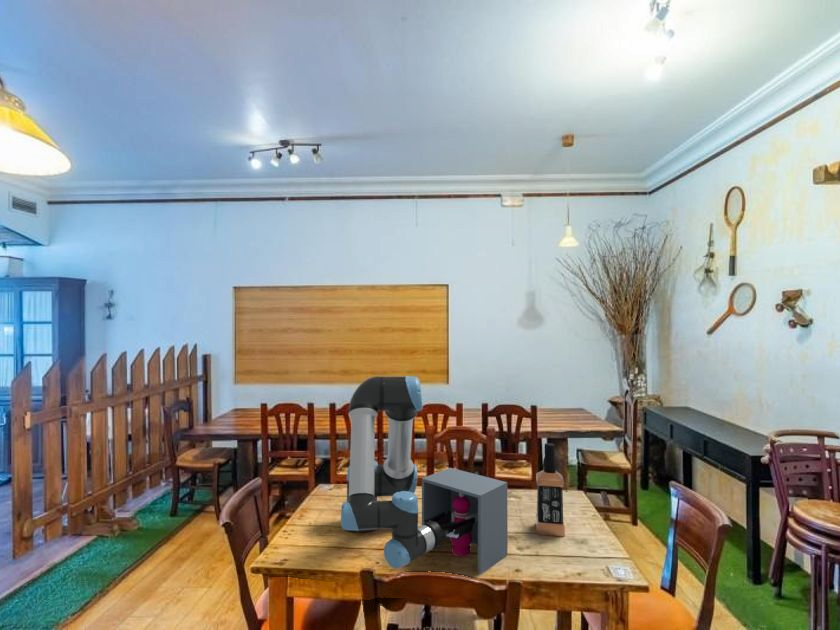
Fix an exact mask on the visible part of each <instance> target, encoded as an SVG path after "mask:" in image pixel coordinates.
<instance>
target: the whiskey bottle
mask: <svg viewBox="0 0 840 630" xmlns="http://www.w3.org/2000/svg"><path fill="white" fill-rule="evenodd" d="M555 449H556V447H555V444H554V443H552V442H546V443H545V444H544V458H543V461H542V465H543V469H542V470H541V471H538V472H536V474H535V476H536V477H535V478H536V485H537V492H536V493H537V497H536V498H537V499H536V513H535V529H536V534H538V535H543V536H556V537H565V536H566V534H565V533H566V531H565V522H564V502H563V499H564V497H563V496H564V495H563V487H564V486H565V481H564V477H563V475H562V473H560V472H558V471H557V470H556V468H557V462H556V457H555V454H556V451H555Z"/></svg>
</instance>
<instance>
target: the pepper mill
mask: <svg viewBox="0 0 840 630" xmlns="http://www.w3.org/2000/svg"><path fill="white" fill-rule="evenodd" d="M470 505H471V504H470V500H469V499H468V498H467V497H466V496H464V494H463V493H459V496H457V497H455V498H454V500H453V508H454V509H455V510H454V516H455V523H456V522H459V521H463V520H465V518H466V517H468V516H469V511H468V510H469V509H470ZM450 542H451V544H452V545H451V552H452V554H454V556H457V557H467V556H469V555H471V552H472V551H471V549H472V547H471V544H472V535H471V532H468V533H467V534H465V535H463V536H461V537H460V538H459V539H458V540H454V537H450Z"/></svg>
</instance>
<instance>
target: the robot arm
mask: <svg viewBox="0 0 840 630" xmlns="http://www.w3.org/2000/svg"><path fill="white" fill-rule="evenodd" d="M420 381H421V380H420V379H419V377H417V376H409V375H405V376H377V375H376V376H372V377H369V378H367V379H366V380H365V379H364V381H363V382H362V383H360V384H359V386H358V387H357V388H356V389H355V391H354V392H353V394H352V396H351V399H350V402H349V403H348V404H349V406H348V417H349V419H350V420H351V421H350V422H351V424H350V425H351V426H350V450H349V451H350V455H349V466H348V468H347V469H346V472H347V473H346V501H345V502H342V503H341V511H340V526H341V528H342V530H344V531H347V532H351V533H356V534H357V533H359V534H360V533H362V534H363V533H369V532H373V531H376V530H391V539H389V540H388V541H387V542H386V543H385V545H384V548H383V556H384V559H385V562H386V563H387V564H388V565H389V567H391V568H393V569H400V568H402V567H404V566H407V565H409V564H410V563H411V562H414V561H415V560H416V559H418V558H419V557H422V556H423V555H426V553H429V552H430V551H432V550H434V549H436V548H438V547H439V546H441V545H442V544H443V542H444V540H445V539H447V540H448V539H449V538H451V537H454V540H458V539H459V538H460V537H461V536H463V535H465V534H467V533H468V532H470V531H472V530H473V524H474V523H475V522H476V521H478V512H475V513H473V514H471V515H470V516H468V517H466V518H465V520H463V521H459V522H456V523H453V524H452V523H449V522H450V521H451V519H452V521H453V522H454V521H455V516H454V512H452V513H451V511H448V513H447V514H446V513H445V512H442V513H440V514H438V515H436V516H434V517H432V518H430V519H427V520H424V524H423V525H422V524H420V525H418V524H419V502H418V501H419V500H418V496H417V495H416V494H415V492H416V489H417V486H418V485H417V484H418V467H417V465H416V464H415V463H413V460H412V459H411V454H412V438H413V436H412V435H413V425H414V419H415V418H416V417H417V416H418V412H420V411H423V409H424V408H423V407H424V405H423V398H422V397H423V396H422V388H421V382H420ZM379 412H384V414H385V416H386V417H387V418H388V433H387V434H388V435H387V436H388V437H387V458H386V459H385V460H384V462H383V464H378V461H377V460H375V459H376V458H375V457H376V456H375V454H376V453H375V450H376V449H375V447H376V445H375V435H376V434H375V433H376V432H375V430H376V429H375V424H376V423H375V421H376V419H377V418H378V416H379ZM381 497H382V498H385V497H386V498H387V497H388V498H389V497H391V500H378V498H381Z"/></svg>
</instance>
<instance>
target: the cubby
mask: <svg viewBox="0 0 840 630" xmlns="http://www.w3.org/2000/svg"><path fill="white" fill-rule="evenodd" d="M459 493H463V494H464V496H466V497H467V498H468V499H469V500H470V504H471V505H470V509H469V510H468V511H469V516H470V515H471V514H473V513H475V512H478V521H476V522H475V523H474V524H473V530H472V531H470V532H471V535H472V543H471V544H473V545H475V546H477V574H478V573H479V574H478V575H480V574H481V575H482V574H483V572H484V573H485V572H486V571H488V570H490V569H491V568H492V567H493V566H495V565H496V564H497V563H499V562H500V561H502V560H503V559H504V558H505V557H508V482H507V481H503V480H500V479H497V478H492V477H488V476H484V475H480V474H476V473H472V472H469V471H465V470H461V469H457V468H453V467H448V468H446V469H442V470H441V471H437V472H435V473H433V474H430V475H426V476H424V477H422V478H421V525H423V524H424V520H427V519H430V518H432V517H434V516H436V515H438V514H440V513H442V512H445V513H446V514H447V513H448V511H451V513H452V512H454V510H455V509H454V508H453V500H454V498H455V497H457V496H459ZM449 523H452V524H453V523H455V521H454V522H453V521H452V519H451V521H450V522H449Z"/></svg>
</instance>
